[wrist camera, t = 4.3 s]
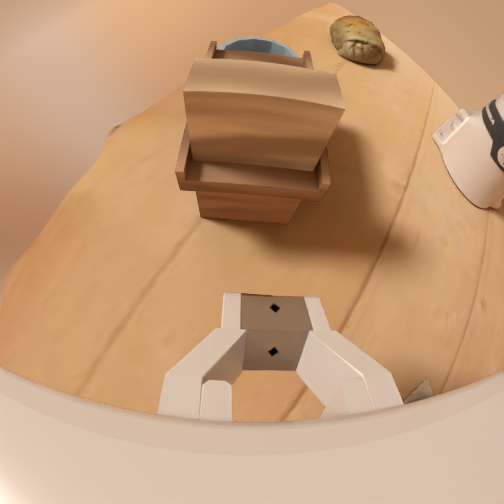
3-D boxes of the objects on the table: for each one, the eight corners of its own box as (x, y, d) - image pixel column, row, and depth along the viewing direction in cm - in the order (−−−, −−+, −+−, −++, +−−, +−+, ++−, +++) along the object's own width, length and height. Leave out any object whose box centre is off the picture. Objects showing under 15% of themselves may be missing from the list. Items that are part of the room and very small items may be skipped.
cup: (248, 63, 36) (252, 31, 30) (302, 92, 35) (313, 59, 28) (201, 91, 33) (199, 55, 27) (259, 125, 32) (265, 87, 26)
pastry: (344, 31, 44) (354, 5, 36) (390, 59, 42) (403, 34, 35) (311, 40, 40) (320, 9, 33) (364, 73, 39) (379, 42, 31)
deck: (296, 233, 28) (330, 185, 18) (191, 226, 27) (175, 171, 18) (291, 109, 33) (309, 51, 23) (211, 102, 32) (211, 41, 23)
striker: (312, 171, 20) (345, 109, 13) (193, 160, 19) (183, 91, 13) (309, 137, 21) (336, 74, 14) (199, 126, 20) (194, 58, 14)
